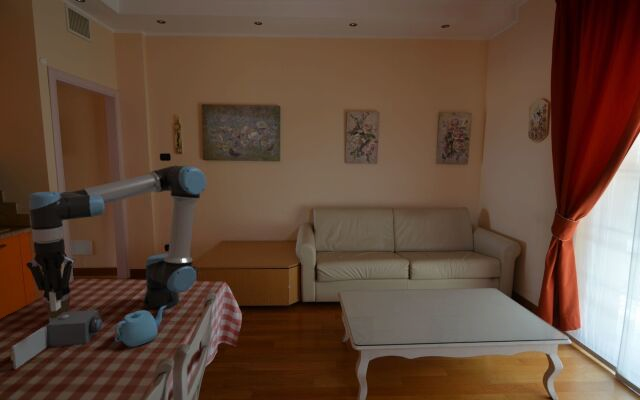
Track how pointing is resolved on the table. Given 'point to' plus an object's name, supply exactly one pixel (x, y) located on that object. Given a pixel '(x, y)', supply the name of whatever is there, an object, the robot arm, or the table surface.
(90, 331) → the camera case
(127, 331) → the teapot
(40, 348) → the side door
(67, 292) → the coffee cup
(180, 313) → the table surface
